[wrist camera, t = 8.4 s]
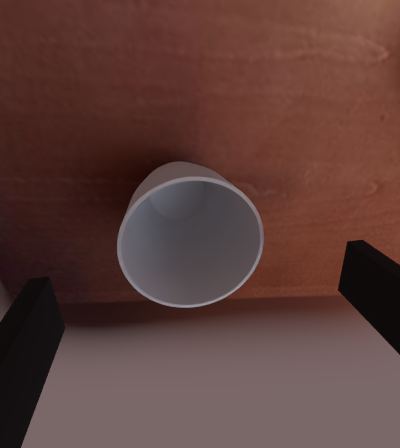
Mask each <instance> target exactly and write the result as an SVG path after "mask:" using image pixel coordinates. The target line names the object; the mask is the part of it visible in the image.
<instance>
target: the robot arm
mask: <svg viewBox="0 0 400 448" xmlns="http://www.w3.org/2000/svg"><path fill="white" fill-rule="evenodd" d="M338 291H339V292H340V293H341V294H342V295H343V296H344V297H345V298H346V299H347V300H348V301H349V302H350V303H351V304H352V305H353V306H354V307H355V308H356V309H357V310H358V311H359V313H361V315H362V316H363V317H364V318H365V319H366V320H367V321H368V322H369V323H370V324H371V325H372V326H373V327H374V328H375V329H376V330H377V331H378V332H379V333H380V334H381V335H382V336H383V338H385V340H386V341H387V342H388V343H389V344H390V345H391V346H392V347H393V348H394V349H395V350H396V351H397V352H398V353H399V354H400V265H399V264H397V263H396V262H394V261H393V260H391V259H390V258H388V257H387V256H386V255H384V254H383V253H381V252H380V251H378V250H377V249H375V248H374V247H372V246H371V245H369V244H368V243H367V242H365V241H364V240H357V241H348V242H347V246H346V251H345V256H344V261H343V267H342V272H341V277H340V282H339V287H338ZM64 330H65V326H64V322H63V319H62V316H61V313H60V310H59V307H58V303H57V300H56V297H55V294H54V291H53V287H52V284H51V281H50V278H49V277H42V278H34V279H29V280H28V281H27V283H26V284H25V286H24V287H23V289H22V290H21V292H20V293H19V295H18V296H17V298H16V299H15V301H14V303H13V304H12V305H11V307H10V308H9V310H8V311H7V313H6V315H5V316H4V318H3V319H2V320H1V322H0V448H21V446H22V443H23V440H24V437H25V435H26V432H27V429H28V427H29V424H30V421H31V418H32V416H33V413H34V411H35V408H36V405H37V402H38V400H39V397H40V394H41V392H42V389H43V386H44V384H45V381H46V378H47V376H48V373H49V370H50V367H51V364H52V362H53V360H54V357H55V354H56V351H57V349H58V346H59V343H60V341H61V338H62V335H63V333H64Z"/></svg>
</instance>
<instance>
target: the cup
mask: <svg viewBox="0 0 400 448" xmlns="http://www.w3.org/2000/svg"><path fill="white" fill-rule="evenodd" d="M263 242H264V233H263V226H262V222H261V218H260V216H259V213H258V211H257V210H256V208H255V206H254V205H253V203H252V202H251V201H250V200H249V198H248V197H247V196H246V195H245V194H243V193H242V192H241V191H240V190H238V189H237V188H236V187H235V186H233V185H232V184H231V183H229V182H228V181H227V180H226V179H224V178H223V177H222V176H220V175H219V174H218V173H216V172H215V171H213V170H211V169H209V168H206V167H203V166H200V165H197V164H193V163H189V162H171V163H168V164H165V165H162V166H160V167H158V168H157V169H155V170H154V171H153V172H151V173H150V174H149V175H148V176H147V178H146V179H145V180H144V181H143V182H142V183H141V184H140V185H139V187H138V188H137V189H136V191H135V192H134V194H133V196H132V198H131V201H130V203H129V206H128V209H127V211H126V214H125V217H124V219H123V222H122V224H121V227H120V230H119V234H118V241H117V253H118V259H119V263H120V266H121V269H122V271H123V273H124V275H125V277H126V278H127V280H128V281H129V282H130V284H131V285H132V286H133V287H134V288H135V289H136V290H137V291H138V292H140V293H141V294H142V295H144V296H145V297H147V298H149V299H151V300H153V301H155V302H158V303H160V304H163V305H167V306H172V307H184V308H186V307H198V306H203V305H207V304H210V303H213V302H216V301H218V300H221V299H223V298H225V297H226V296H228V295H230V294H231V293H233V292H234V291H236V290H237V289H238V288H239V287H240V286H241V285H243V284H244V283H245V281H246V280H247V279H248V278H249V277H250V275H251V274H252V273H253V271H254V270H255V268H256V266H257V264H258V262H259V259H260V256H261V253H262V249H263Z"/></svg>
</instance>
